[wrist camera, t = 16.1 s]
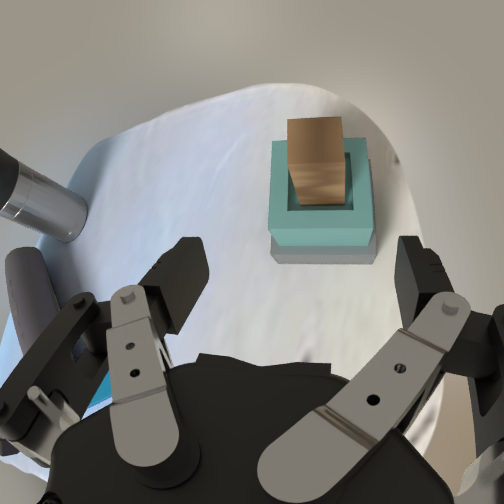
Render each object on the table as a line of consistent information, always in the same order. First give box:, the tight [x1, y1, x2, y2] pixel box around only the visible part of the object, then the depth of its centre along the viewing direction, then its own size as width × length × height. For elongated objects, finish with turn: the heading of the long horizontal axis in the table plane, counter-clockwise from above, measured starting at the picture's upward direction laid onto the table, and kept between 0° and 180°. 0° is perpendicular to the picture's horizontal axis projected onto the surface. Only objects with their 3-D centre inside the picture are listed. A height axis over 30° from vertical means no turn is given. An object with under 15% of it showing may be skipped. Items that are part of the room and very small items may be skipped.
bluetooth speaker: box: [5, 247, 75, 363], centre depth 44 cm, size 23×9×10 cm, turn 33°
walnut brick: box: [287, 117, 345, 206], centre depth 27 cm, size 4×4×8 cm
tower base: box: [268, 138, 377, 264], centre depth 35 cm, size 12×12×11 cm
